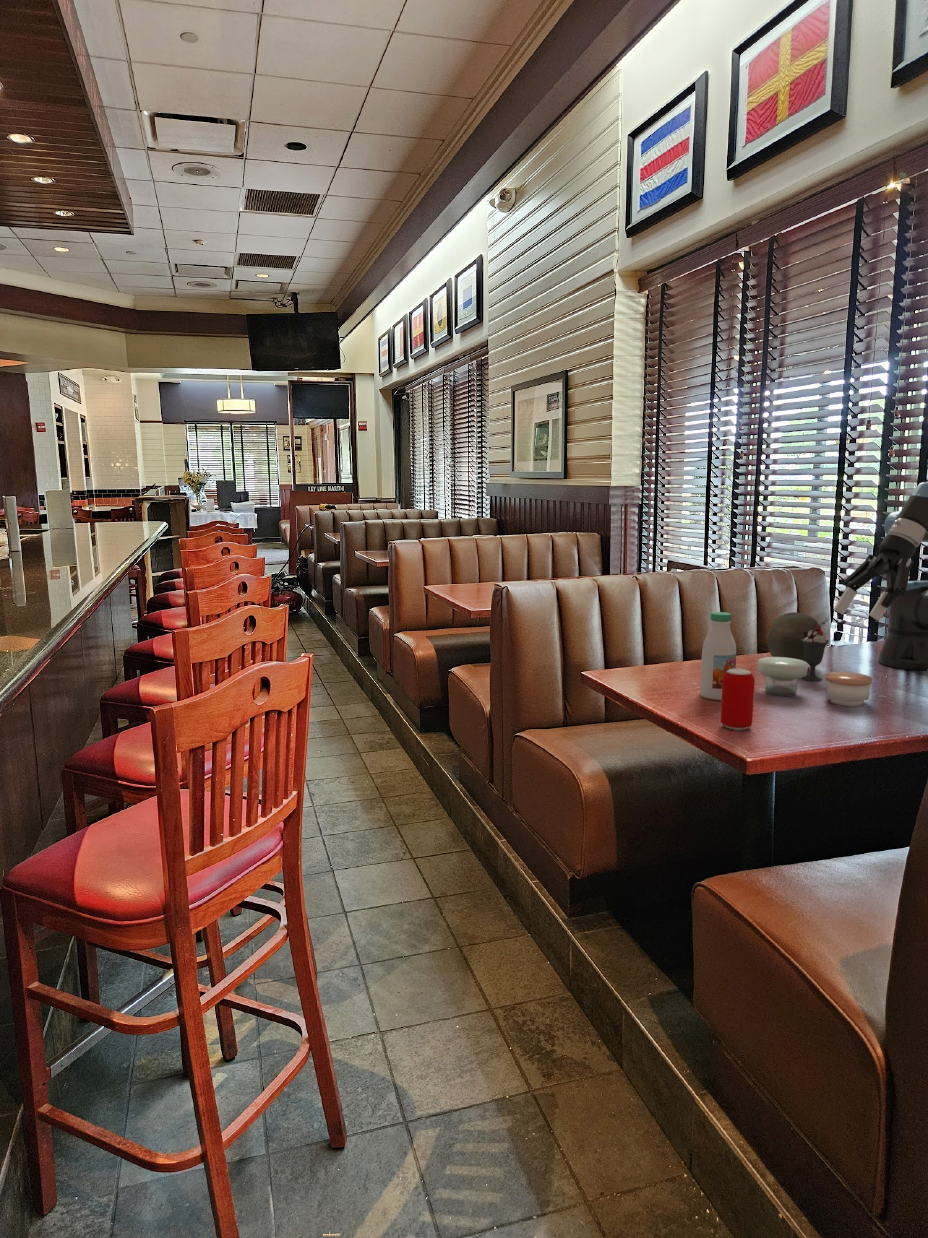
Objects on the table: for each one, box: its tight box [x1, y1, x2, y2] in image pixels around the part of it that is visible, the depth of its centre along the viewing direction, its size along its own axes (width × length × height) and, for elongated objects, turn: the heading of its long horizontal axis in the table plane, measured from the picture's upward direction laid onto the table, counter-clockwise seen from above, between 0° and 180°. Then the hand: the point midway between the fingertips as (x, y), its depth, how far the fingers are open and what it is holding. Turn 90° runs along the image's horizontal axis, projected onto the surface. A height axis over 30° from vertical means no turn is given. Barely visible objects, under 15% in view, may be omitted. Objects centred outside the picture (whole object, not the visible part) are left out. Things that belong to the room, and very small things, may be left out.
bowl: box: [824, 671, 873, 707], centre depth 184 cm, size 10×10×6 cm
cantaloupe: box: [766, 612, 821, 662], centre depth 216 cm, size 14×14×15 cm
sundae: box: [800, 622, 830, 682], centre depth 204 cm, size 7×7×15 cm
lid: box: [757, 656, 809, 678], centre depth 191 cm, size 11×11×2 cm
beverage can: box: [720, 668, 756, 731], centre depth 165 cm, size 6×6×12 cm
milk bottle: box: [699, 611, 737, 701], centre depth 188 cm, size 8×8×20 cm
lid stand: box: [764, 675, 799, 697], centre depth 192 cm, size 7×7×5 cm
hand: (855, 614), depth 197 cm, fingers open, 13 cm apart
